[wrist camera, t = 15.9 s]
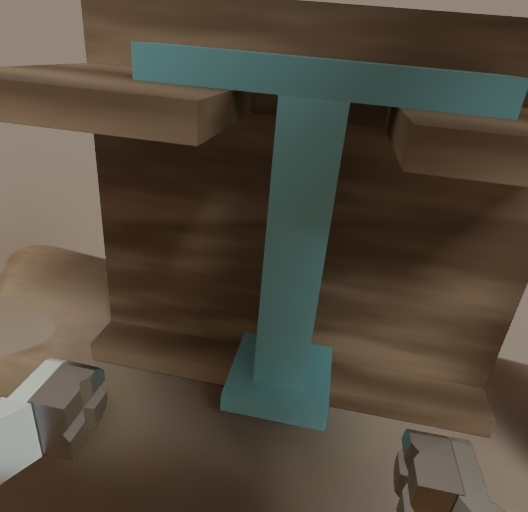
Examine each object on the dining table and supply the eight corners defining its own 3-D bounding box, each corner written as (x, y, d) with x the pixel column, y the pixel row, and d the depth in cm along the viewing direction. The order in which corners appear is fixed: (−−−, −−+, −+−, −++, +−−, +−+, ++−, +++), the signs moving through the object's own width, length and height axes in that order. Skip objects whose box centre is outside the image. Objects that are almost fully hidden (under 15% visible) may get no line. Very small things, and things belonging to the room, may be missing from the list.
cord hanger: (417, 450, 23) (547, 81, 15) (137, 393, 25) (112, 40, 17) (405, 375, 28) (495, 73, 20) (175, 333, 30) (170, 43, 22)
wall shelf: (537, 569, 21) (906, 0, 10) (18, 449, 24) (-115, -65, 14) (472, 389, 32) (615, 27, 21) (122, 325, 35) (93, -13, 25)
